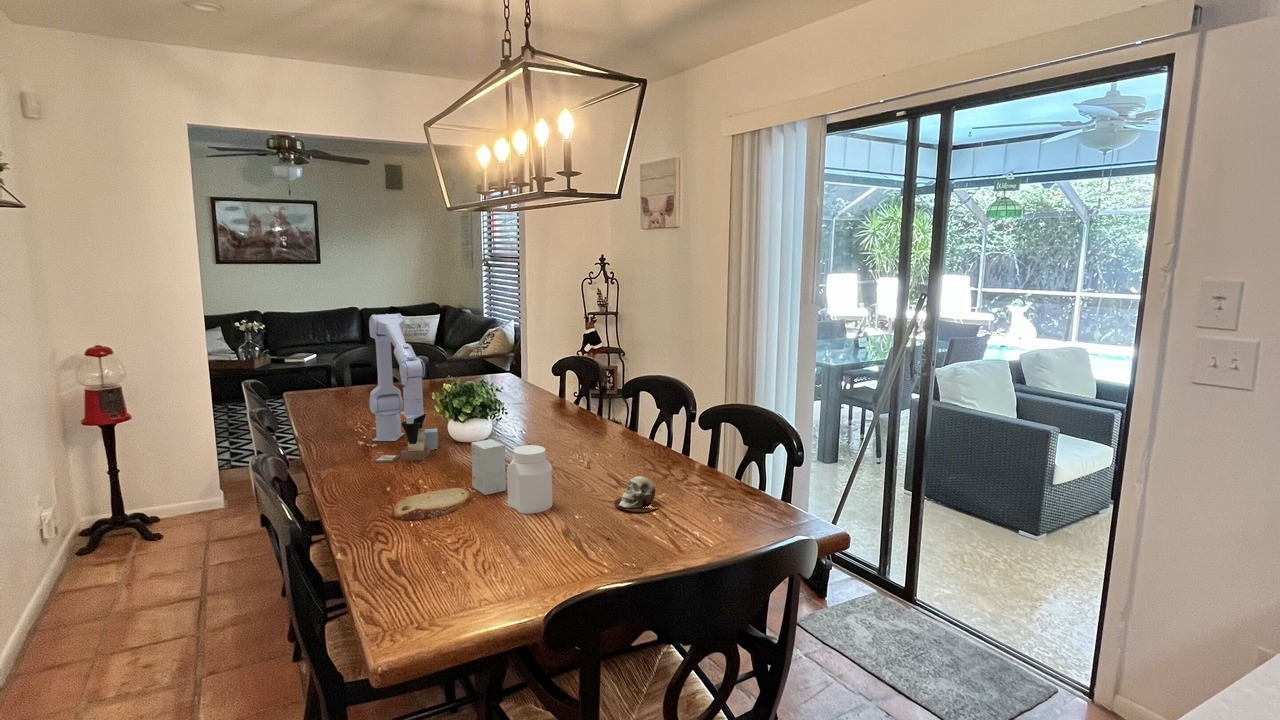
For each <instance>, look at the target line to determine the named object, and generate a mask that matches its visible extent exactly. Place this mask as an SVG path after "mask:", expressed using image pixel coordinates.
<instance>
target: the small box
mask: <svg viewBox="0 0 1280 720" xmlns="http://www.w3.org/2000/svg"><path fill="white" fill-rule="evenodd" d="M470 446H471V478H472V479H471V481H472V482H471V483H472V484H471V485H472V488H473V489H474V490H476V491H478V492H480V493H481V494H483V495H485V496H488V495H492V494H497V493H500V492H504V491H506V490H507V486H506V485H507V484H506V483H507V482H506V480H507V479H506V445H504V444H503V443H501V442H498V441H496V440H494V439H492V438H489V439H484V440H477V441H473V442H472V441H471V445H470Z"/></svg>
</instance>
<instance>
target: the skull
mask: <svg viewBox="0 0 1280 720" xmlns="http://www.w3.org/2000/svg"><path fill="white" fill-rule="evenodd" d="M623 492H624V493H623V494H622V495H621V497H619V498H617V499H615V500H614V501H613V504H614V505H615V507H617V508H618V509H620V510H624V511H628V512H634V513H636V512H637V513H641V512H642V513H648V512H652V511H651V509H652V508H651V509H650V508H645V507H646V506H647V507H648V506H649V505H650V504H651V503H653V501H654V499H655V496H656V486H655V484H654V483H653V482H652V480H651V479H649V478H647V477H645V476H643V475H642V476H641V475H638V476H635V477H632V478H631V479H629V481H627V488H624V490H623ZM643 507H644V508H643ZM652 510H654V509H652ZM654 511H655V510H654Z"/></svg>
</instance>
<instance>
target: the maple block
mask: <svg viewBox="0 0 1280 720" xmlns="http://www.w3.org/2000/svg"><path fill="white" fill-rule="evenodd" d="M425 429H426V428H422V429H419V430H418V436H417V443H416V444H409V442H408V441H407V446H408V451H423V450H424V448H425Z"/></svg>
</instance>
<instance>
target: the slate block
mask: <svg viewBox="0 0 1280 720" xmlns="http://www.w3.org/2000/svg"><path fill="white" fill-rule="evenodd" d="M424 429H425V446H430V451H433V450H434V449H437V450H439V443H438V442H439V441H438V439H439V435H438V433H439V432H438V428H424Z"/></svg>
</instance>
